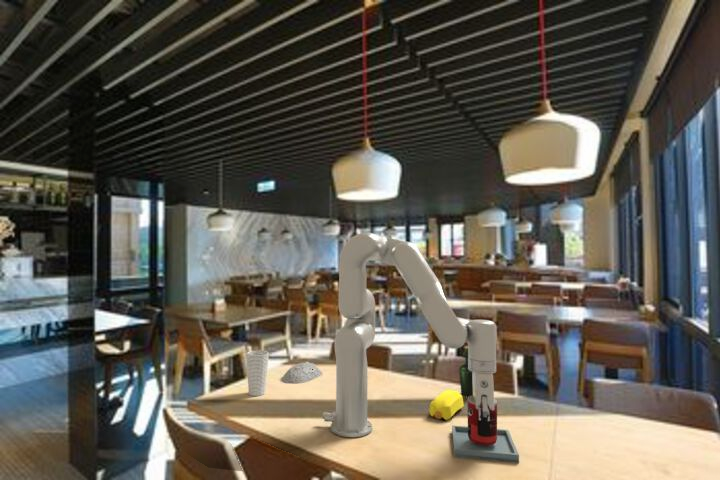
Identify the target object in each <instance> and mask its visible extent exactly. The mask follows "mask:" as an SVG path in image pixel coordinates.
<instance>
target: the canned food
mask: <svg viewBox="0 0 720 480" xmlns="http://www.w3.org/2000/svg"><path fill="white" fill-rule="evenodd" d="M481 400H482V399H481ZM487 406H488V404H487ZM480 408H482V403H480ZM481 412H482V411H481ZM489 417H490V436H480V435H478V419H479V416H478V410H477V409H476V406H475V402H474V398H473V395H471V396H469V397H467V427H468V438H469V439H470V440H471V441H472V442H474V443H476V444H480V445H493V444H495V443H496V440H497V429H498V401H497V399H496V398H494V411H492V410H490V408H489Z"/></svg>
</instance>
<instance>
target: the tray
mask: <svg viewBox="0 0 720 480" xmlns="http://www.w3.org/2000/svg"><path fill="white" fill-rule="evenodd" d="M451 432H452V433H451V434H452V444H453V454H454V458H460V459H461V458H462V459H469V460H470V459H472V460H480V461H481V460H483V461H491V462H492V461H493V462H502V463H514V464H520V455H519V452H518V449H517V448H516V445H515V443H514V441H513V438H512V436H511V433H510V431H509V430H508V429H501V428H497V440H496V443H495V444H493V445H480V444H476V443H474V442H472V441H471V440H470V439H469V438H468V426H467V425H466V426H463V425H451Z"/></svg>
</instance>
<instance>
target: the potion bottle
mask: <svg viewBox="0 0 720 480" xmlns="http://www.w3.org/2000/svg"><path fill="white" fill-rule="evenodd" d="M461 357H463V358H464V361H465V363H464V364H462V365H460V367H459V368H458V372H459V384H460V394H461V395H462V396H463V395H464V396H463V397H465V396H467V397H466V398H468V397H469V396H471V395H473V381H472V371H470V370H468V346H464V352H462V355H461Z"/></svg>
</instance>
